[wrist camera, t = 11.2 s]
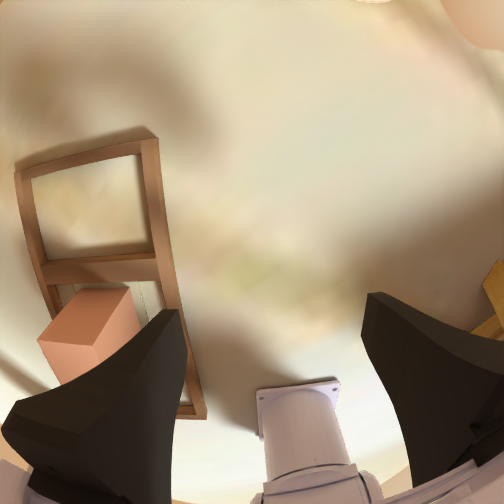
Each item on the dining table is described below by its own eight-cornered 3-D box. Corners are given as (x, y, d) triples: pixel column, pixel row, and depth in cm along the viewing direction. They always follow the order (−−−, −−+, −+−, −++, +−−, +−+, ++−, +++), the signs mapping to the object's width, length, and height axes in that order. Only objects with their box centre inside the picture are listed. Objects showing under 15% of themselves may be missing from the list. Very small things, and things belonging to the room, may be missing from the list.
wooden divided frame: (207, 410, 25) (206, 419, 24) (103, 403, 25) (99, 411, 24) (158, 138, 16) (152, 138, 15) (22, 170, 16) (13, 173, 15)
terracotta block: (143, 335, 21) (117, 399, 15) (97, 334, 21) (64, 390, 15) (129, 287, 20) (92, 346, 13) (81, 288, 20) (36, 339, 13)
